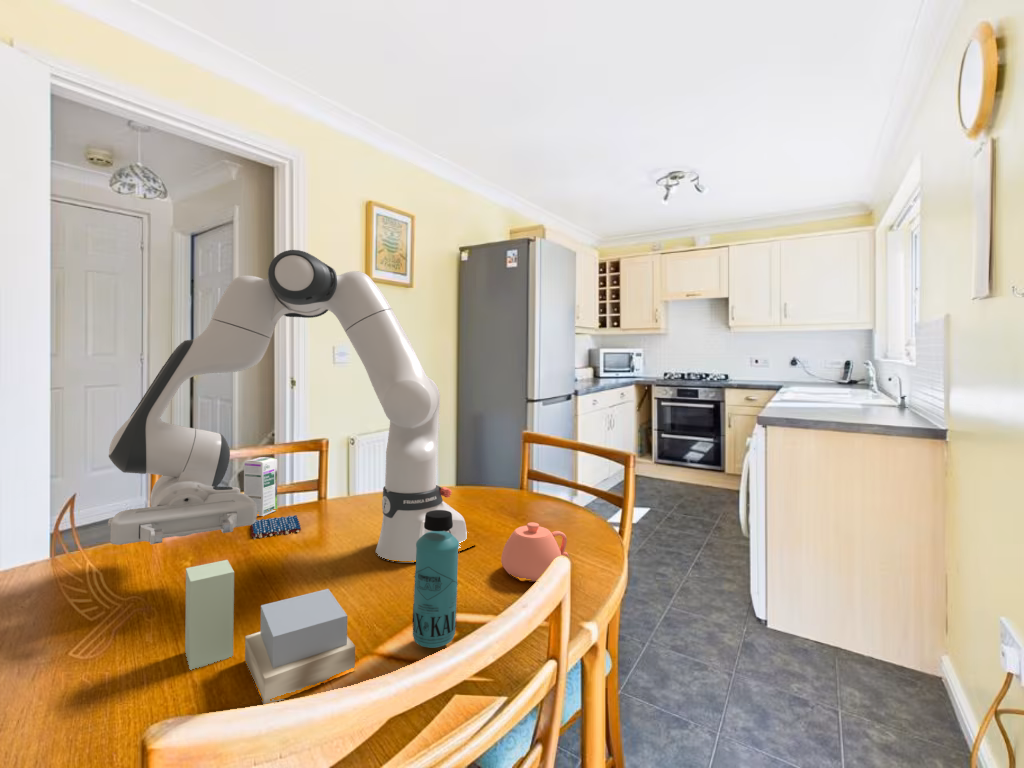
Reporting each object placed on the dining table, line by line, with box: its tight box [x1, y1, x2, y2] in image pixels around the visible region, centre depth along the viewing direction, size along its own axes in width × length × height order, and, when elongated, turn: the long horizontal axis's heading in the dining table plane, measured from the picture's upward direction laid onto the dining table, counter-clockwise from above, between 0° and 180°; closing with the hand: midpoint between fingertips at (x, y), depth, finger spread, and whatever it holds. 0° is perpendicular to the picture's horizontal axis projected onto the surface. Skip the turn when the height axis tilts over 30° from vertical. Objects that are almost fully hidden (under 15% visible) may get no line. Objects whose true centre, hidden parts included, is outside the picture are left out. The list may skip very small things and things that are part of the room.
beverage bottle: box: [411, 510, 459, 649], centre depth 69 cm, size 6×7×20 cm
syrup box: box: [243, 456, 278, 517], centre depth 126 cm, size 6×6×14 cm
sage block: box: [184, 559, 235, 671], centre depth 66 cm, size 5×5×12 cm
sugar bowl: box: [500, 522, 570, 582], centre depth 95 cm, size 12×14×10 cm
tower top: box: [260, 588, 348, 668], centre depth 64 cm, size 9×9×4 cm
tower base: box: [244, 631, 356, 705], centre depth 64 cm, size 11×11×4 cm
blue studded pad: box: [249, 515, 302, 540], centre depth 114 cm, size 10×11×2 cm
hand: (194, 533), depth 74 cm, fingers open, 8 cm apart
